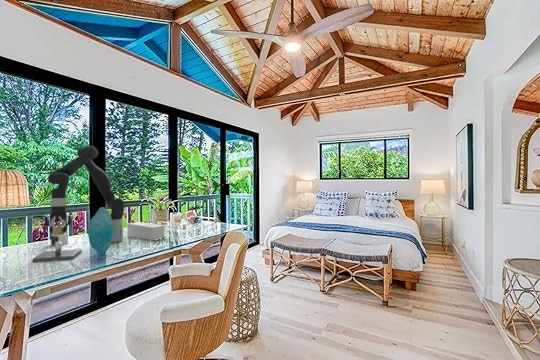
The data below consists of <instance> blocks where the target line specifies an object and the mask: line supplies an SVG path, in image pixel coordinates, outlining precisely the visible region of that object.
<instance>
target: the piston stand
mask: <svg viewBox="0 0 540 360" xmlns="http://www.w3.org/2000/svg"><path fill="white" fill-rule="evenodd" d="M54 246H55V250H49V251H46V250H45V251H43V252H41V253H40V254H38V255H36V256H35V257H33V258H32V260H31V261H32V263H37V262H38V261H42V262H53V260H56V261H66V260H67V261H70V260H71V261H72V260H74V259H76V258H77V257H78V256H79V255H80V254H81V253H82V248H81V249H79V248H78V249H65V250H63V249H62V246H63V245H62V242H56V243H55V245H54Z"/></svg>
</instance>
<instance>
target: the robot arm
mask: <svg viewBox="0 0 540 360" xmlns="http://www.w3.org/2000/svg"><path fill="white" fill-rule="evenodd" d="M76 153H77V157H75V158H73V159H72V160H70V161H68V162H67V163H66V164H64V165H63V166H62V167H60V168H58V169H56V170H53V171H52V172H51V173H50V174H49V175H48V177H47V180H48V182H49V183H50V184H52V185H57V187H54V188H52V189H51V194H50V195H51V196H50V197H51V199H50V215H45V216H44V223H45V227H49V232H50V234H52V228H54V227H55V226H54V225H55V223H58V222H59V223H61V224H63V227H64V232H65V233H67V231H68V226H69V225H71V224H72V220H73V215H72V214H70V215H69V214H67V198H66V197H67V192H66V191H67V189H68V185H69V182H70V177H71V176H73V175H74V174H75V173H76V172H77V171H78V170H79V169H81V168H82V167H84V166H85V168H86V170H87V171H88V173H89V174H90V176H91V178H92V180H93V182H94V184H95V185H96V186H97V189H98V190H99V192H100V194H101V195H102V197H103V200H104V201H105V204H106V206H107V208H108V209H110V210H111V211H110V215H111V218H112V224H113V229H114V231H113V236H112V241H111V243H119V242H123V240H124V228H123V218H124V217H123V216H124V215H125V214H124V213H125V202H124V200H123V199H122V198H119V197H116V196H115V194H114V192H113V191H112V184H111V180H110V178H109V176H108V175H107V173H106V172H105V171H104V170H103V169H102V168H100V167H99V166H97V165H96V164H95V162H94V161H93V159H96V158H97V157H98V155H99V151H98V149H97V148H96V147H95V146H93V145H88V146H84V147H80V148H78V149H77V152H76ZM50 219H51V221H50ZM66 219H67V220H66Z"/></svg>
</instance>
